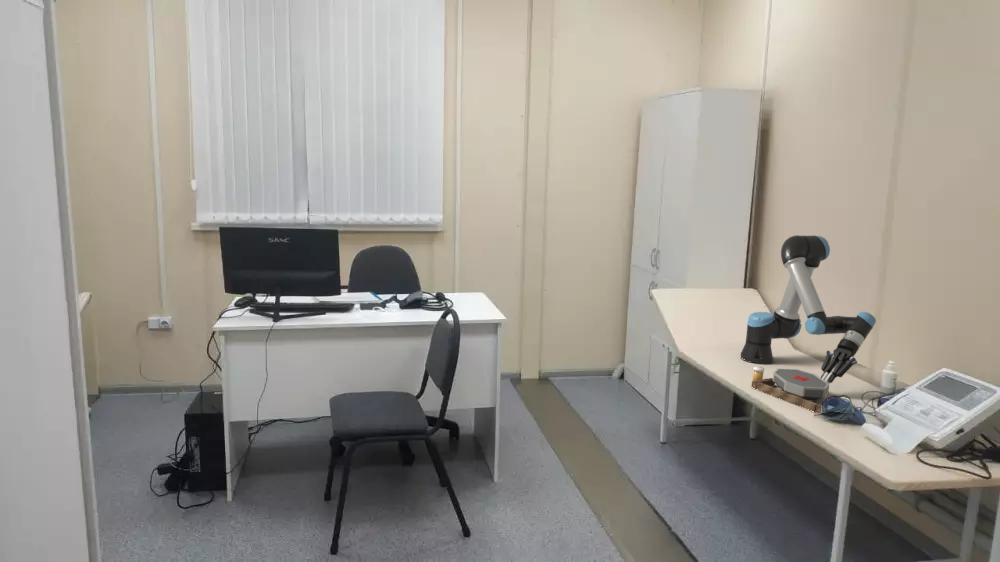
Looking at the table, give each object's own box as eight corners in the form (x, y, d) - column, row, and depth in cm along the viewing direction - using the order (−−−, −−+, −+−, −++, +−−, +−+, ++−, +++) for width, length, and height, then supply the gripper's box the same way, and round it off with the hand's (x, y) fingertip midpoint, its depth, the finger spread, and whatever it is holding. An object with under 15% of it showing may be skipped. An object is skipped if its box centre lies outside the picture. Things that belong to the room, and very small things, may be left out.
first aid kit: (834, 407, 259) (806, 386, 284) (837, 388, 258) (808, 369, 282) (790, 404, 259) (765, 384, 284) (792, 386, 258) (767, 368, 282)
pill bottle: (749, 382, 285) (751, 367, 284) (756, 381, 287) (758, 366, 286) (757, 386, 281) (759, 370, 280) (764, 384, 283) (766, 368, 282)
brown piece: (751, 387, 278) (752, 381, 278) (770, 384, 284) (771, 378, 283) (820, 414, 249) (821, 407, 249) (840, 410, 255) (841, 403, 254)
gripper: (831, 334, 282) (803, 376, 277) (863, 342, 270) (834, 386, 265) (838, 344, 286) (810, 386, 280) (869, 352, 274) (840, 396, 268)
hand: (821, 386), depth 273 cm, fingers closed
